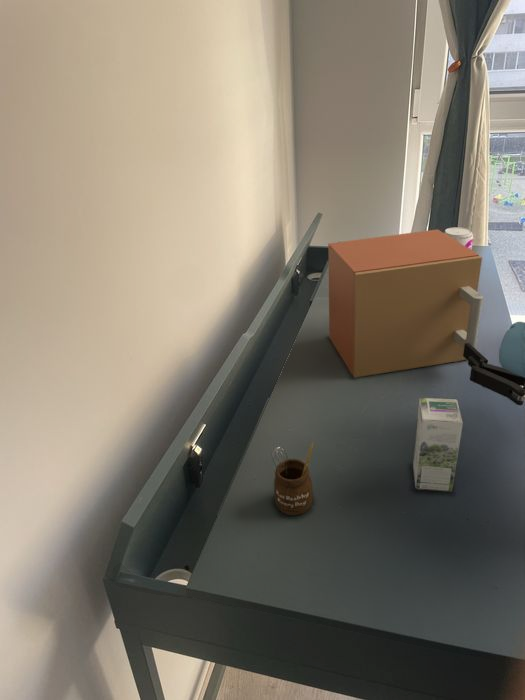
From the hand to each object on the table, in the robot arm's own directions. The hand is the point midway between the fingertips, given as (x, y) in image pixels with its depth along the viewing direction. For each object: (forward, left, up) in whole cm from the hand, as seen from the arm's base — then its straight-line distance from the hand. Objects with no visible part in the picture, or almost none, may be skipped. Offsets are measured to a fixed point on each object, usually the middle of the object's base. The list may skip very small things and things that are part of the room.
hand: (500, 343), depth 97 cm
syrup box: (+9, +26, -13) cm, 30 cm away
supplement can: (+10, -58, -13) cm, 61 cm away
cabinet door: (+15, -5, -12) cm, 20 cm away
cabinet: (+21, -16, -12) cm, 29 cm away
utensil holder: (+29, +37, -13) cm, 48 cm away
